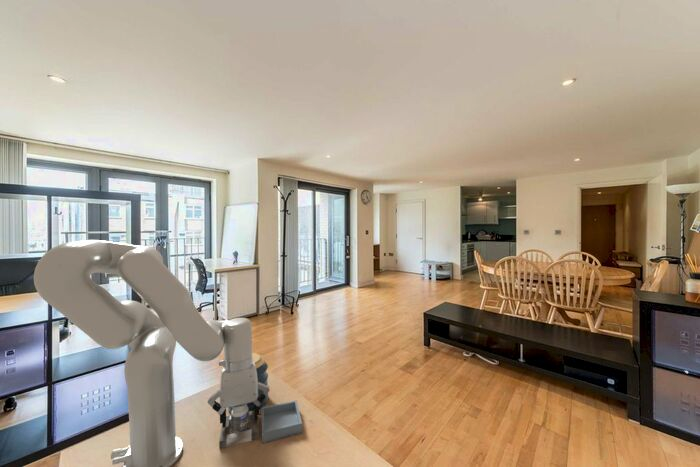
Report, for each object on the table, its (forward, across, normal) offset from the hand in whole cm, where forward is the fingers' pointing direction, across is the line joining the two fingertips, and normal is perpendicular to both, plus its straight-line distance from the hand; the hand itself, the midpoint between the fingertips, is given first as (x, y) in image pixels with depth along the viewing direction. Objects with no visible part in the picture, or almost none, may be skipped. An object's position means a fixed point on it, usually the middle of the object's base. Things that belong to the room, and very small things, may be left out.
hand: (240, 420), depth 80 cm
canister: (+3, +2, +12) cm, 13 cm away
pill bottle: (+3, 0, 0) cm, 3 cm away
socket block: (+3, 0, 0) cm, 3 cm away
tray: (+3, +11, -2) cm, 12 cm away
